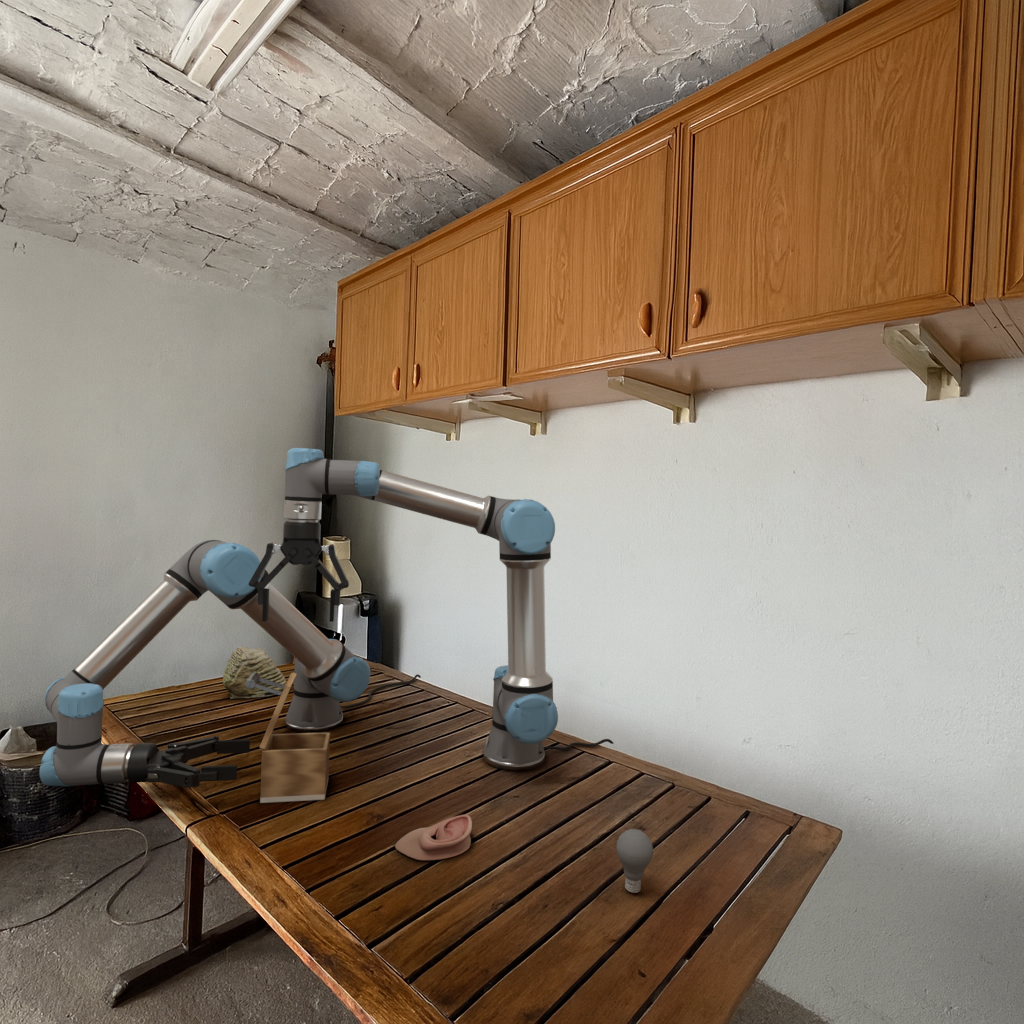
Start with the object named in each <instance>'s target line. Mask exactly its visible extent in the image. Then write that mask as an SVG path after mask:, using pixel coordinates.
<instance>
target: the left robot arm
mask: <svg viewBox="0 0 1024 1024" xmlns="http://www.w3.org/2000/svg"><path fill="white" fill-rule="evenodd" d="M260 562H261V560H260V558H259V557H258V555H257V554H256V553H255V552H254V551H252V550H251V548H248V547H247V546H245V545H242V544H240V543H236V542H226V541H222V540H219V539H207V540H203V541H201V542H199V543H197V544H195V545H194V546H192V547H190V548H189V549H188V550H187V551H186V552H185V553H184V554H182V556H181V557H180V558H178V560H176V562H175V563H173V565H172V566H170V568H169V569H168V570H166V572H164V573H163V581H162V582H161V583H160V584H159V585H158V586H156V588H154V589H153V591H151V592H150V594H148V596H146V597H145V598H144V599H143V601H141V602H140V603H139V604H138V605H137V607H136V608H134V609H133V610H132V611H131V612H130V613H129V614H128V615H127V616H126V617H125V618H124V619H123V620H122V621H120V623H119V624H117V626H115V628H114V629H113V630H112V631H111V632H110V633H108V635H107V636H106V637H104V639H103V640H102V641H101V642H99V644H97V646H96V647H95V648H94V649H93V650H91V652H89V653H88V655H87V656H85V658H84V659H82V660H81V662H79V663H78V665H76V666H75V668H73V669H72V670H71V671H70V672H69V673H68V674H66V676H64V677H59V678H57V679H56V680H54V681H52V682H51V683H50V684H49V685H48V687H47V688H46V690H45V693H44V704H45V707H46V710H47V711H48V712H49V713H50V714H51V715H52V717H53V719H54V721H55V722H56V745H54V746H51V747H49V748H48V749H47V750H46V751H45V752H44V754H43V756H42V757H41V763H40V766H39V773H38V774H39V779H40V781H41V783H42V784H43V785H44V786H47V787H66V788H67V787H74V786H75V787H76V786H90V785H106V784H107V785H109V784H110V785H111V784H112V785H113V786H118V785H119V784H126V783H128V782H129V783H131V784H136V783H159V784H160V783H161V784H166V785H170V786H171V785H172V786H177V787H181V788H187V789H191V788H198V787H200V786H201V785H200V782H220V781H236V780H237V778H238V764H227V765H226V764H225V765H224V764H223V765H204V766H203V765H202V766H201V768H198V767H195V766H192V765H190V764H187V763H188V762H189V761H190V760H194V759H198V758H200V757H204V756H206V755H211V754H214V753H216V754H217V755H224V754H225V755H227V754H229V755H230V754H249V753H250V752H251V751H250V750H251V739H250V738H249V739H247V738H246V739H222V740H221V739H220V736H219V735H213V736H209V737H204V738H200V739H199V738H198V739H194V740H189V741H183V742H171V743H168V744H167V748H166V749H162V750H160V749H159V747H158V744H156V743H155V742H141V743H140V742H138V743H136V744H135V743H133V742H132V743H131V742H128V743H127V742H125V743H110V744H109V743H107V744H105V743H104V744H103V743H102V741H103V740H102V739H103V717H104V715H103V714H104V705H105V699H104V689H106V687H108V685H109V684H110V683H111V682H112V681H114V679H115V678H116V677H117V676H118V675H119V674H121V672H122V671H123V670H124V669H125V668H126V667H127V666H128V665H129V664H130V663H131V662H132V661H133V660H134V659H135V658H136V657H137V656H138V655H139V654H140V653H141V652H142V651H143V650H144V648H146V647H147V646H148V645H149V644H150V643H151V642H152V641H153V640H154V639H155V638H156V636H158V635H159V633H160V632H161V631H162V630H163V629H164V628H165V627H167V626H168V624H169V623H170V622H172V620H173V619H174V618H175V617H176V616H177V615H178V614H179V613H181V611H183V609H184V608H185V607H186V606H187V605H188V604H189V603H190V602H194V601H195V602H196V601H198V600H199V599H200V598H201V597H202V596H203V595H204V594H205V593H207V592H208V591H209V592H210V593H211V594H212V595H214V596H215V597H216V598H217V599H218V600H219V601H221V603H223V604H224V605H225V606H226V607H228V608H229V609H230V610H241V611H242V612H244V614H246V615H247V616H248V617H249V618H250V619H251V620H253V622H254V623H256V624H257V625H258V626H259V627H260V628H261V629H263V630H264V631H265V632H266V633H267V634H268V635H269V636H270V637H271V638H273V639H274V640H275V641H276V642H277V643H278V644H279V645H280V646H281V647H283V649H285V650H286V652H288V653H289V654H290V655H291V656H293V657H294V672H293V673H296V674H297V675H296V677H295V679H294V682H293V695H292V696H293V697H292V699H291V702H290V703H289V704H288V706H287V708H286V709H287V710H288V711H287V713H286V715H285V726H286V728H287V729H289V730H291V731H294V732H295V731H296V732H300V733H319V732H325V731H329V730H332V729H335V728H337V727H339V726H340V725H342V723H343V722H344V714H343V709H349V708H353V707H357V706H360V705H363V704H365V703H367V702H370V700H371V698H372V694H373V693H374V692H376V691H378V690H381V689H383V688H386V687H391V686H399V685H400V686H401V685H407V684H410V683H413V682H414V681H415V680H416V679H417V678H419V679H420V678H422V676H421V675H420V674H415V675H414V677H413V678H411V679H410V680H407V681H401V682H392V683H385V684H383V685H380V686H377V687H375V688H374V689H373V688H372V689H371V691H370V692H369V693H368V698H366V699H364V700H362V701H359V702H356V703H352V704H347V705H341V702H342V703H350V702H353V701H356V700H357V699H359V698H360V697H361V696H362V695H363V694H364V693H365V691H366V690H367V688H368V687H369V684H370V681H371V668H370V665H369V664H368V662H367V661H366V660H365V659H364V658H362V657H360V656H356V655H355V654H354V653H353V652H352V651H350V649H348V648H347V646H345V645H344V643H342V642H341V641H340V640H338V639H336V638H328V637H327V636H326V635H325V634H324V633H323V632H322V631H321V630H320V629H319V628H317V626H315V625H314V624H313V623H312V622H311V621H310V620H309V619H308V618H307V617H306V616H305V615H304V614H303V613H302V612H300V610H298V608H296V606H294V605H293V603H291V602H290V601H289V600H288V599H287V598H286V597H285V596H284V595H283V594H282V593H281V592H280V591H278V589H277V588H276V587H274V585H272V584H271V582H269V584H268V585H267V586H266V587H265V589H269V608H268V620H267V621H262V610H263V605H258V602H257V601H258V590H257V588H255V587H251V586H249V582H250V580H251V578H252V576H253V575H254V573H255V571H256V569H257V568H258V566H259V564H260ZM269 574H270V572H268V571H267V570H266V569H265V570H264V571H263V573H262V575H261V577H260V578H259V580H258V581H259V582H262V581H263V580H264V579H265V578H266V577H267V576H268V575H269Z"/></svg>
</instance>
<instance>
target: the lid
mask: <svg viewBox="0 0 1024 1024" xmlns="http://www.w3.org/2000/svg"><path fill="white" fill-rule="evenodd" d="M296 675H297V674H296V673H294V672H291V673H290V675H289V677H288V679H287V680H286V685H283V684H280V683H276V682H273V681H270V680H267V679H264V678H261V677H260V675H259V674H258V673H256V672H255V673H252V674H251V676H250V677H249V678H248V680H247V681H246V683H245V686H246V688H248V689H252V688H254V687H255V688H258V689H261V690H265V691H268V692H271V693H274V694H276V695H277V696H280V697H279V699H278V702H277V704H276V707H275V709H274V711H273V714H272V715H271V719H270V720H269V724H268V725H267V728H266V731H265V733H264V735H263V737H262V740H261V743H260V744H259V745H260V746H259V749H262V750H263V749H265V748H266V745H267V743H268V741H269V739H270V737H271V734H273V733H274V731H275V727H276V725H277V722H278V721H279V718H280V715H281V714H282V713H281V712H282V710H283V708H284V706H285V703H286V701H287V699H288V696H289V694H290V691H291V689H292V686H293V685H294V679H295V677H296ZM258 681H260V682H263V683H266V684H269V685H272V686H275V687H278V688H282V689H284V690H283V692H281V691H278V690H275V689H272V688H269V687H266V686H263V685H260V684H257V682H258Z"/></svg>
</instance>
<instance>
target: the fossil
mask: <svg viewBox="0 0 1024 1024" xmlns="http://www.w3.org/2000/svg"><path fill="white" fill-rule="evenodd" d="M255 672H256V673H258V674H259V675H260V677H261V678H264V679H267V680H270V681H273V682H276V683H280V684H283V685H286V683H287V680H286V678H285V676H284V674H283V673H282V672H281V669H279V668H278V667H277V665H276V663H275V662H274V660H273V659H272V658H271V657H270V656H269V655H268V654H267V653H266V652H265V650H264V649H263V648H260V647H258V648H251V647H247V646H246V647H245V646H238V647H237V648H236V649H235V650H233V651H232V653H231V656H230V657H229V659H228V660H227V663H226V666H225V668H224V671H223V675H222V676H223V677H222V685H223V687H224V688H225V690H226V691H228V693H229V698H230V699H250V698H264V697H271V696H275V695H277V694H274V693H271V692H268V691H265V690H261V689H258V688H255V687H254V688H252V689H248V688H246V686H245V683H246V681H247V680H248V678H249V677H250V676H251V674H252V673H255ZM257 684H260V685H263V686H266V687H269V688H272V689H275V690H278V691H281V692H283V690H284V689H282V688H278V687H275V686H272V685H269V684H266V683H263V682H260V681H258V682H257Z"/></svg>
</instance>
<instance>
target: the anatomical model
mask: <svg viewBox="0 0 1024 1024" xmlns="http://www.w3.org/2000/svg"><path fill="white" fill-rule="evenodd" d="M472 830H473V821H472V818H471V816H470V815H469V814H459V815H456V816H452V817H450V818H447V819H444V820H442V821H440V822H437V823H436V824H435V823H434V824H433V825H431V826H429V827H420V828H417V829H413V830H412V831H409V832H408V833H406V834H405V835H403V836H402V837H401V838H400V839H399V840H397V842H396V843H395V845H394V848H395V849H396V851H398V852H400V853H401V854H403V855H405V856H406V857H408V858H412V859H414V860H417V861H436V860H437V861H438V860H444V859H450V858H453V857H456V856H459V855H462V854H463V853H464V852H467V851H468V850H469V848H470V847H471V844H472V839H471V833H472Z"/></svg>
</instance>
